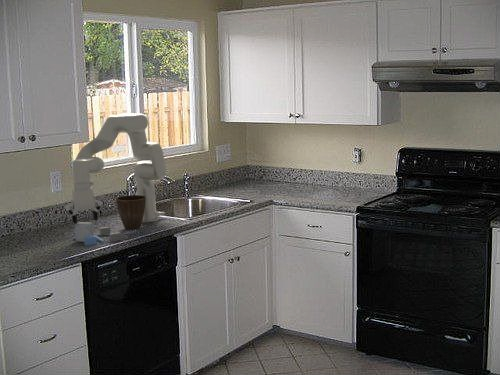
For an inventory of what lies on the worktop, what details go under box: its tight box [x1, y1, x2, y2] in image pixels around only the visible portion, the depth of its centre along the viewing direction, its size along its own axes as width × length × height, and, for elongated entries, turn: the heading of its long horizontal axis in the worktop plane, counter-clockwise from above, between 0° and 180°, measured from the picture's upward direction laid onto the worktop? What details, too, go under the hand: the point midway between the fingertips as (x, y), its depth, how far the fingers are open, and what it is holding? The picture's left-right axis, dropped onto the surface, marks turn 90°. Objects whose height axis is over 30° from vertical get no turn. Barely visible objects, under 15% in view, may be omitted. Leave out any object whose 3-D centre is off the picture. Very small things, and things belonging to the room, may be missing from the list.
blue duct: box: [74, 230, 105, 246], centre depth 332 cm, size 8×18×4 cm, turn 30°
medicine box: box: [74, 221, 95, 243], centre depth 331 cm, size 8×4×9 cm, turn 72°
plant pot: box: [115, 194, 146, 231], centre depth 355 cm, size 15×15×16 cm
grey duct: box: [98, 226, 130, 242], centre depth 338 cm, size 8×18×4 cm, turn 30°
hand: (85, 221), depth 331 cm, fingers open, 9 cm apart
